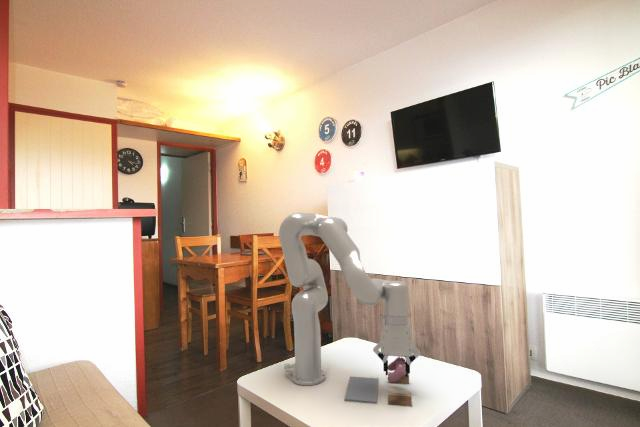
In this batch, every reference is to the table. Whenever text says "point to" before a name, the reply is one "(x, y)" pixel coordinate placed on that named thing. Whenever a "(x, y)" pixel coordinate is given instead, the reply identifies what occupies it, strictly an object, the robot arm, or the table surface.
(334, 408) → the table surface
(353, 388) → the mat
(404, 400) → the dock
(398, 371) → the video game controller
